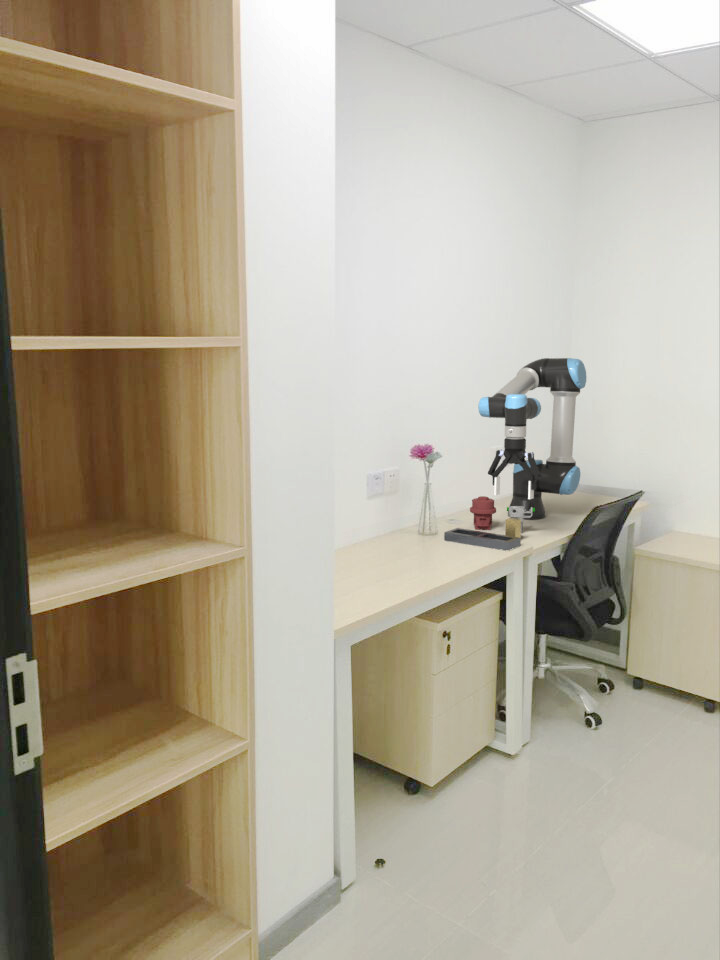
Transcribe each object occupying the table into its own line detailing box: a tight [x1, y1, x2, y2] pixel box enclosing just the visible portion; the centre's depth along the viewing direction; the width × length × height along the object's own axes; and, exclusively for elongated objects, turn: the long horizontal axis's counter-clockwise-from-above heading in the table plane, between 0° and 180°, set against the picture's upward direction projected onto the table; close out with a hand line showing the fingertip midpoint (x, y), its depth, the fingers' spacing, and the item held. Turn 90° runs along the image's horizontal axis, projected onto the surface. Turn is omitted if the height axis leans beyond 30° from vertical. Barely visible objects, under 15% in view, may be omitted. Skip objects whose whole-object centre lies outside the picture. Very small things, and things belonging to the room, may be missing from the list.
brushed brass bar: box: [504, 517, 522, 538], centre depth 303 cm, size 4×4×8 cm
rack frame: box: [443, 527, 522, 551], centre depth 300 cm, size 9×26×3 cm, turn 51°
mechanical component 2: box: [469, 495, 497, 531], centre depth 322 cm, size 12×10×10 cm
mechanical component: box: [506, 505, 535, 534], centre depth 315 cm, size 3×10×10 cm, turn 79°
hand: (513, 496), depth 300 cm, fingers open, 13 cm apart
